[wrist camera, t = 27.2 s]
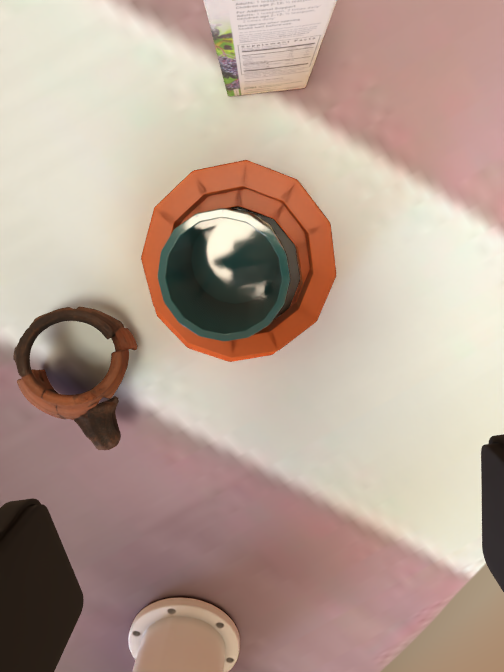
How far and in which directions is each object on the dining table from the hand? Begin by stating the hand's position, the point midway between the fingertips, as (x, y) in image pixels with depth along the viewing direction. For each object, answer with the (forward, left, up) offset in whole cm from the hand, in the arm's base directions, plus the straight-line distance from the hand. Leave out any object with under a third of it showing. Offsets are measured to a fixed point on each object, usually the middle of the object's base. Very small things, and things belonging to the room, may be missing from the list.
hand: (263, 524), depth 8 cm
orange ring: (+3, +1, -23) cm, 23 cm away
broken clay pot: (-4, +16, -26) cm, 30 cm away
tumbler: (+3, +2, -25) cm, 26 cm away
